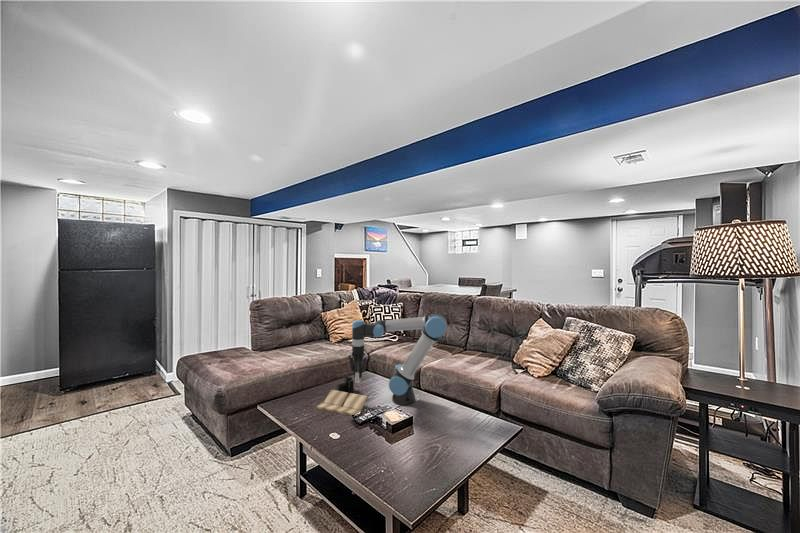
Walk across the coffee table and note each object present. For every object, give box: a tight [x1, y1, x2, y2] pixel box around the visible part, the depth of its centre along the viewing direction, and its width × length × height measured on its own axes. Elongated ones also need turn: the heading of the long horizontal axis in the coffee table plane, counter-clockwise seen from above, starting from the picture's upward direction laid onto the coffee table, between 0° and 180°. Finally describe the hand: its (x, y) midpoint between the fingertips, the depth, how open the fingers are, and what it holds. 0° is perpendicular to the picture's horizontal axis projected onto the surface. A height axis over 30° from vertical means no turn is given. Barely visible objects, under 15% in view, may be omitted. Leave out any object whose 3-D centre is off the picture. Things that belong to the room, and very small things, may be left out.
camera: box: [336, 375, 355, 395], centre depth 231 cm, size 14×11×10 cm
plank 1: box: [323, 389, 349, 406], centre depth 213 cm, size 13×10×1 cm
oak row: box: [316, 401, 363, 417], centre depth 203 cm, size 28×6×2 cm, turn 68°
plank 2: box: [342, 393, 369, 411], centre depth 208 cm, size 13×10×1 cm
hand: (357, 382), depth 210 cm, fingers closed
